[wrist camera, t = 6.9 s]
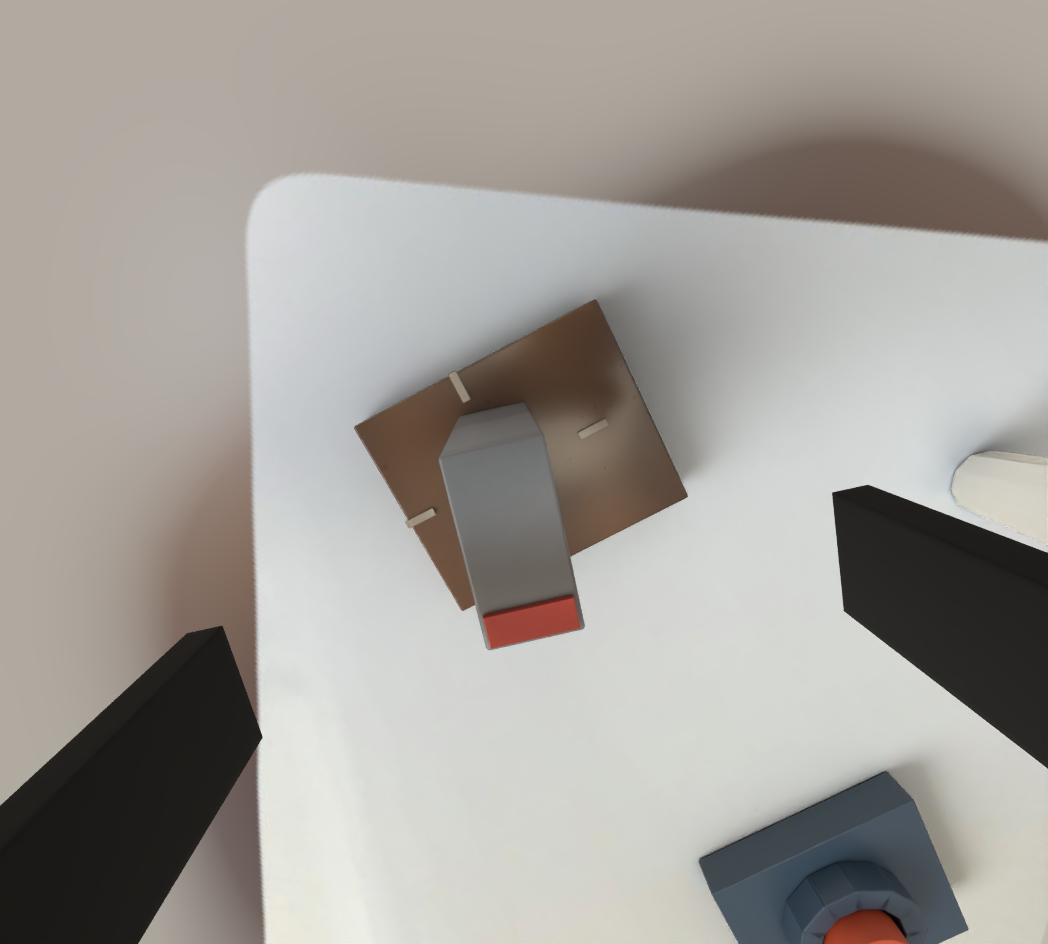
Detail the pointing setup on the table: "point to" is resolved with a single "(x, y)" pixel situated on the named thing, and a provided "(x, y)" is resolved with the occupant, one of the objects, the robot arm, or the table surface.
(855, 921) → the button
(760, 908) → the button block
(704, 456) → the table surface
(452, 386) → the panel
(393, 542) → the table surface
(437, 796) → the table surface
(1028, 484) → the milkshake
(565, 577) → the grey slab
